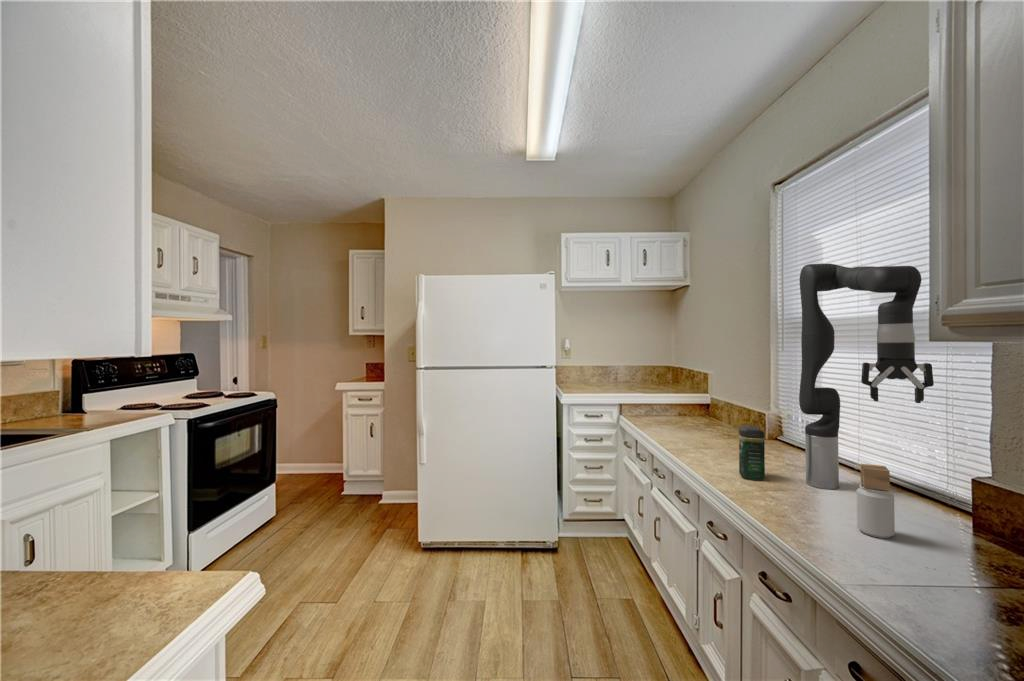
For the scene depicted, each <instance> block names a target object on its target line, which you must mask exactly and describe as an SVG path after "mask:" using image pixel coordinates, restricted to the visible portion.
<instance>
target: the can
mask: <svg viewBox="0 0 1024 681" xmlns="http://www.w3.org/2000/svg"><path fill="white" fill-rule="evenodd" d="M891 491H892V490H891V488H890V491H884V490H876V489H868V488H864V487H863V485H862V483H860V484H859V487H858V488H857V489H856V526H857V528H858V529H859V531H860V532H862V533H864V534H865V535H867V536H871V537H874V538H877V537H878V539H879V538H880V539H890V538H891V537H893V536H894V535H895V532H896V531H895V530H896V529H895V495H894V494H893V493H892V492H891Z"/></svg>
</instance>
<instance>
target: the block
mask: <svg viewBox="0 0 1024 681" xmlns="http://www.w3.org/2000/svg"><path fill="white" fill-rule="evenodd" d="M890 476H891V475H890V470H889V469H888V467H886V466H885V465H878V464H871V463H870V464H868V463H860V484H862V485H863V487H864V488H868V489H876V490H884V491H890V489H891V488H890V487H891V477H890ZM890 492H891V491H890Z"/></svg>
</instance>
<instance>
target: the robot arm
mask: <svg viewBox="0 0 1024 681" xmlns="http://www.w3.org/2000/svg"><path fill="white" fill-rule="evenodd" d="M921 285H922V275H921V272H920V271H919V269H917V268H916V267H915V266H913V265H892V266H890V265H886V266H884V265H883V266H856V267H855V266H854V267H847V266H843V265H840V264H835V263H810V264H806V265H804V266H803V267H802V268H801V270H800V273H799V291H800V292H799V293H800V302H801V333H800V334H801V336H800V337H801V340H800V341H801V345H800V346H801V373H800V374H801V375H800V383H799V393H798V402H799V403H798V404H799V408H800V411H801V412H802V413H803V414H805V415H814V416H815V415H816V416H821V417H820V418H819V419H818V420H816V421H813V422H810V423H808V424H806V425H805V428H804V438H805V440H804V442H805V448H804V449H805V483H806V484H807V485H808V486H810V487H811V486H812V487H814V488H818V489H826V490H836V489H839V488H840V475H839V474H840V473H839V472H840V471H839V468H840V467H839V466H840V465H839V464H840V462H839V459H840V458H839V430H840V420H841V419H840V418H841V415H840V414H841V398H840V394H839V392H838V391H837V389H835V388H833V387H816V382H817V378H818V376H819V373H820V371H821V370H822V368H823V367H824V366H825V364H826V363H827V362H828V360H830V358H831V356H832V355H833V353H834V350H835V338H836V337H835V328H834V326H833V324H832V323H831V322H830V320H829V319H828V317H827V315H826V314H825V313H824V311H823V310H822V308H821V306H820V304H819V298H818V296H819V294H818V292H829V291H834V290H840V289H843V288H844V289H849V290H852V291H861V292H862V291H863V292H872V293H879V294H880V293H881V294H885V293H886V294H888V293H889V294H892V293H895V295H894V296H893V298H892V300H890V301H886V302H882V303H880V304H879V305H878V307H877V330H876V351H877V356H876V358H877V360H876V363H871V362H870V363H869V362H867V361H866V362H863V363H862V365H861V378H860V379H861V380H860V382H861V384H863V385H865V386H868V387H869V389H870V390H869V392H870V393H869V394H870V399H872V400H873V401H874V402H879V387H878V386H879V384H881V383H882V382H883V381H884V380H885V379H888V380H896V379H898V380H908V381H909V382H911V383H912V384H913V386H915V388H914V402H915V403H916V404H921V402H923V401H924V400H925V392H924V391H925V389H926V388H929V387H933V386H934V384H935V383H934V374H933V366H932V363H930V362H929V363H928V362H924V363H917V362H916V358H915V356H916V355H915V354H916V353H915V352H916V350H915V348H916V344H915V343H916V342H915V341H916V337H915V329H914V328H915V327H914V313H913V311H914V310H913V309H914V305H915V302H916V301H917V296H918V293H919V291H920V288H921ZM874 368H875V369H876V370H877V371H878V372H879V373H878V374H877V375H876V376H874V379H872V380H870V371H871V372H872V371H873V369H874ZM917 369H919V371H920V372H923V382H921V381H920V380H919V378H917V377H916V375H914V374H913V373H914V372H915V371H917Z"/></svg>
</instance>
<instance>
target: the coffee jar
mask: <svg viewBox="0 0 1024 681" xmlns="http://www.w3.org/2000/svg"><path fill="white" fill-rule="evenodd" d="M765 439H766V438H765V431H764V430H763V429H761V428H759V427H758V426H756V425H755V424H753V425H752V424H750V425H749V424H743V425H742V426H740V427H739V428H738V458H739V459H738V466H739V467H738V473H739V474H740V476H741V477H742V478H743V479H747V480H752V481H760V480H762V481H763V480H765V477H766V467H765V465H766V463H765V460H766V459H765V457H766V454H765V450H766V448H765V443H766V442H765Z"/></svg>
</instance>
